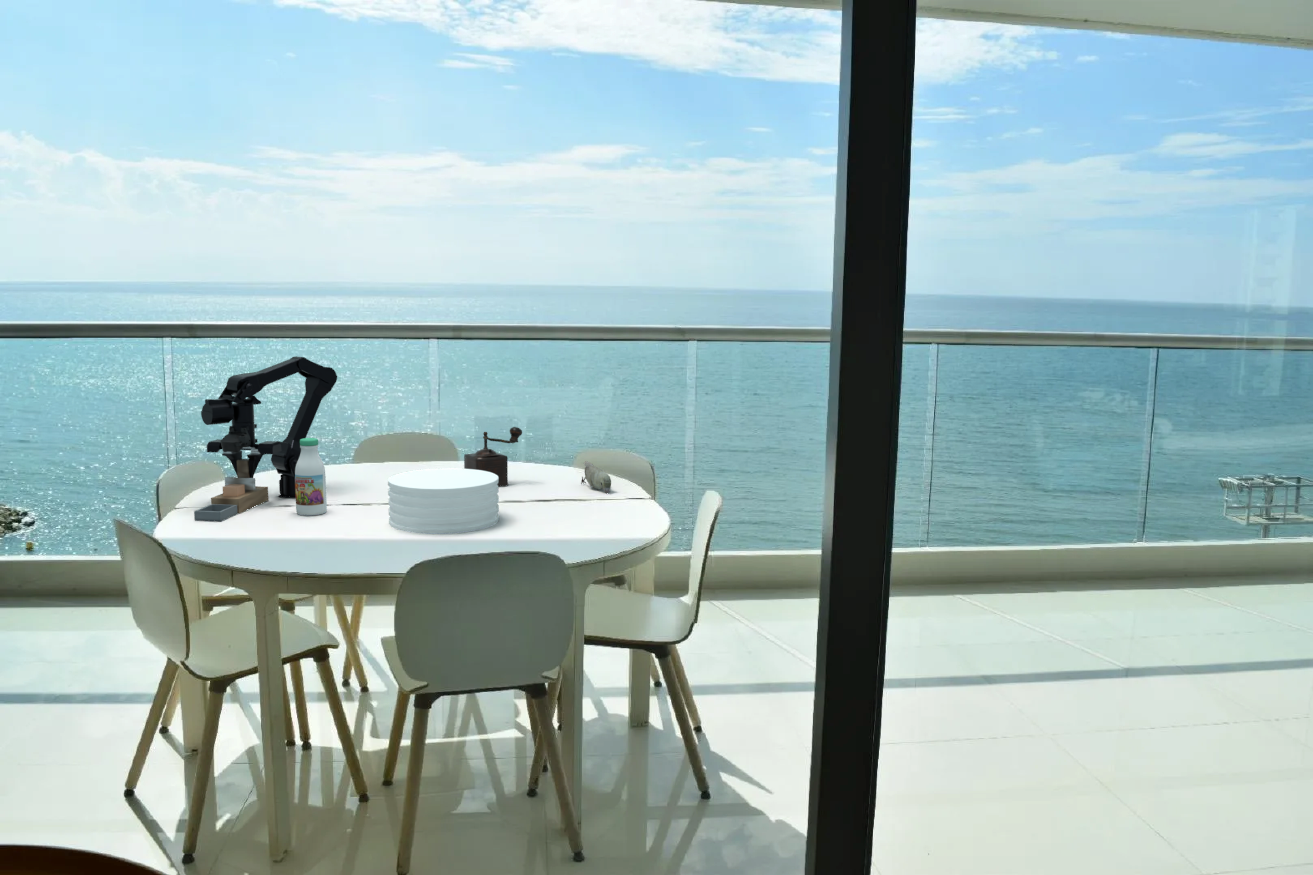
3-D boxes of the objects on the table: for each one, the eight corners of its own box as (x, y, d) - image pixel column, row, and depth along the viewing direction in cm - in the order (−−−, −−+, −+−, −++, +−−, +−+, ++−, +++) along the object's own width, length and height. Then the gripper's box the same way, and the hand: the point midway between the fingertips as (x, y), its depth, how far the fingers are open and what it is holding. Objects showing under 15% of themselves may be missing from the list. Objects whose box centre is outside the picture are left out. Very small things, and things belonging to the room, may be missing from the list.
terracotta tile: (244, 493, 269) (244, 484, 268) (237, 496, 265) (236, 487, 264) (230, 492, 269) (230, 483, 269) (223, 495, 265) (222, 486, 265)
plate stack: (372, 517, 262) (370, 474, 260) (468, 505, 278) (468, 464, 277) (416, 539, 240) (415, 493, 238) (518, 524, 256) (518, 481, 255)
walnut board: (268, 500, 279) (267, 486, 278) (239, 513, 262) (238, 499, 262) (242, 499, 279) (241, 485, 279) (211, 512, 263) (210, 498, 262)
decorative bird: (599, 495, 295) (600, 470, 293) (577, 485, 309) (578, 461, 307) (616, 493, 297) (616, 469, 296) (593, 484, 311) (593, 460, 310)
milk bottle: (302, 509, 269) (299, 436, 266) (330, 509, 269) (328, 436, 266) (291, 516, 261) (289, 440, 258) (321, 516, 261) (318, 441, 258)
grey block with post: (262, 486, 275) (261, 459, 274) (253, 489, 269) (252, 462, 268) (234, 485, 275) (233, 458, 274) (225, 488, 270) (223, 461, 269)
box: (237, 514, 262) (237, 504, 262) (220, 521, 254) (220, 512, 253) (212, 513, 262) (211, 504, 262) (194, 520, 254) (194, 511, 254)
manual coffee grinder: (478, 489, 298) (477, 430, 296) (463, 483, 307) (462, 426, 305) (524, 484, 307) (524, 427, 304) (509, 479, 316) (508, 422, 313)
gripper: (194, 424, 264) (197, 482, 266) (261, 426, 262) (264, 484, 264) (216, 419, 275) (218, 474, 277) (281, 421, 273) (283, 476, 275)
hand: (245, 477), depth 273 cm, fingers closed on grey block with post, 3 cm apart
